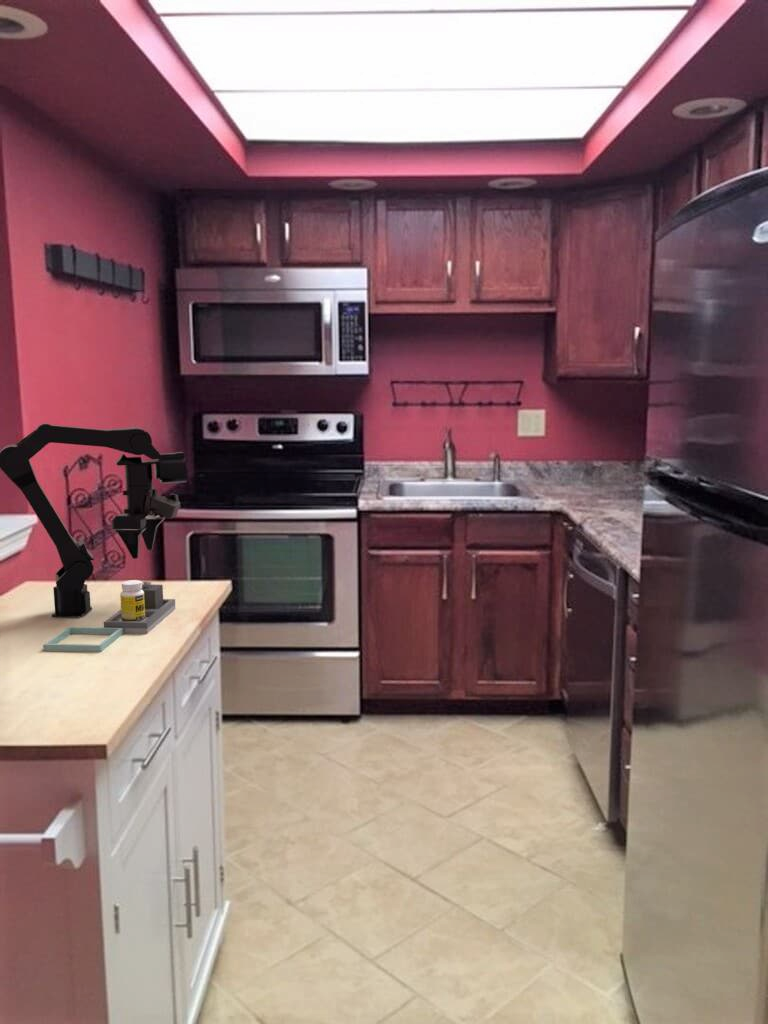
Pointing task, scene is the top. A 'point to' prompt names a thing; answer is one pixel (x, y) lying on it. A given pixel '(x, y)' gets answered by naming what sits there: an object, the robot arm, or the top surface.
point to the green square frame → (53, 645)
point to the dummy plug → (152, 595)
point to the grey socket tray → (151, 621)
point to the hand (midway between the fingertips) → (142, 553)
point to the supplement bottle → (132, 601)
